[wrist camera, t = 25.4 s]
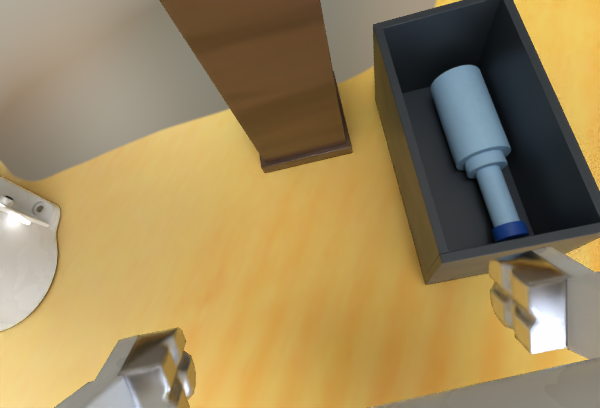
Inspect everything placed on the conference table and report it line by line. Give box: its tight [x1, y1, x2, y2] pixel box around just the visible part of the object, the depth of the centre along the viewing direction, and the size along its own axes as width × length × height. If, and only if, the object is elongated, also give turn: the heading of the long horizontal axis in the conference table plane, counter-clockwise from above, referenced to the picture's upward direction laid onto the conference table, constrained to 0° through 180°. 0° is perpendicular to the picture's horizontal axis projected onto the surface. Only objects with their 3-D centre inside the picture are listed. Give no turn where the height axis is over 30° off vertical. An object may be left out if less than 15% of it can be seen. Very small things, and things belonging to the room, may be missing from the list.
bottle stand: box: [160, 0, 352, 173], centre depth 34 cm, size 10×10×28 cm
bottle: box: [430, 65, 529, 243], centre depth 39 cm, size 17×5×5 cm
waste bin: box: [373, 0, 600, 285], centre depth 37 cm, size 21×11×12 cm, turn 10°
